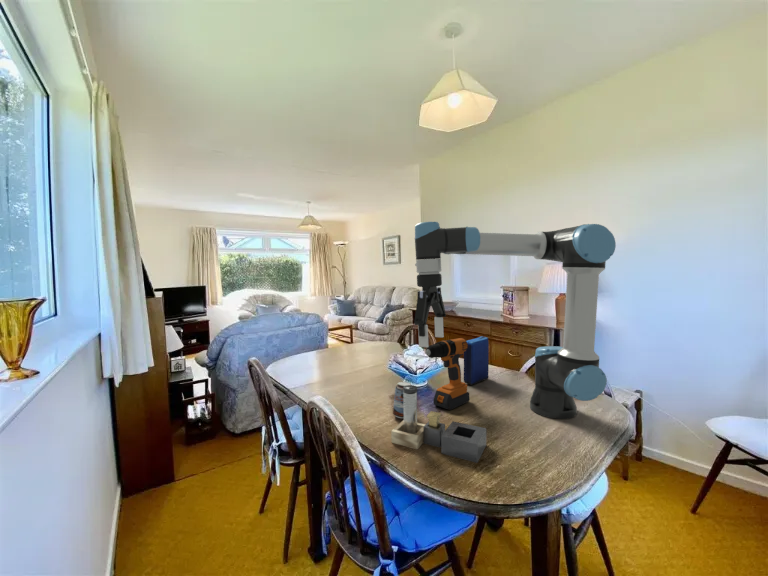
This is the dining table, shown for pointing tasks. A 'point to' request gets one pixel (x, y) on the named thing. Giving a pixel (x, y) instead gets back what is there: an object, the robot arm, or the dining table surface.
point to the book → (476, 360)
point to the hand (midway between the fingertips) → (432, 341)
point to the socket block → (457, 440)
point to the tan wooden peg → (434, 419)
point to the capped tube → (410, 409)
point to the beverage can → (399, 400)
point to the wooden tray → (408, 436)
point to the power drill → (450, 373)
